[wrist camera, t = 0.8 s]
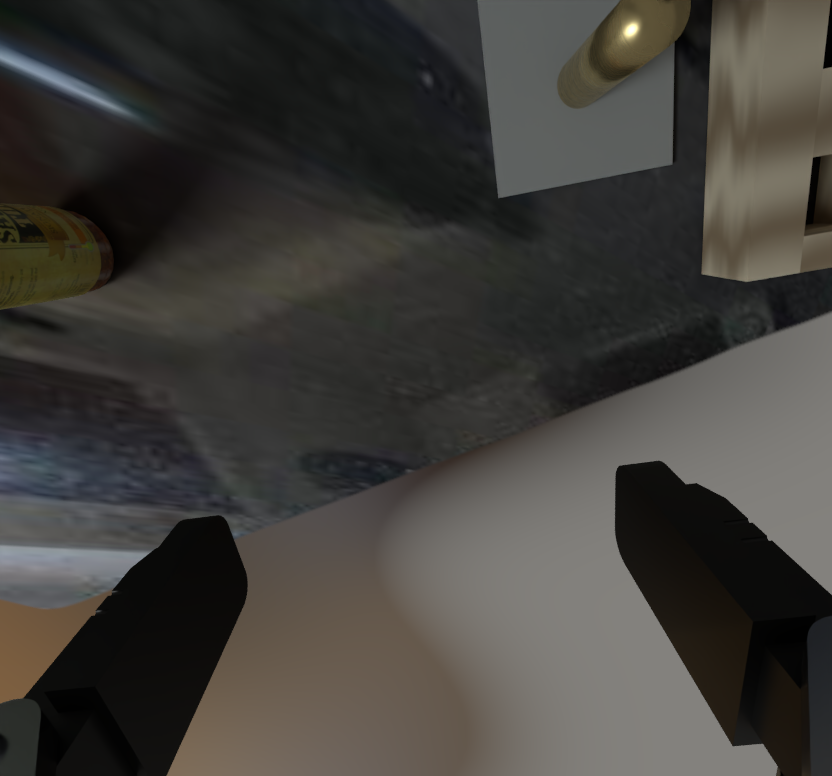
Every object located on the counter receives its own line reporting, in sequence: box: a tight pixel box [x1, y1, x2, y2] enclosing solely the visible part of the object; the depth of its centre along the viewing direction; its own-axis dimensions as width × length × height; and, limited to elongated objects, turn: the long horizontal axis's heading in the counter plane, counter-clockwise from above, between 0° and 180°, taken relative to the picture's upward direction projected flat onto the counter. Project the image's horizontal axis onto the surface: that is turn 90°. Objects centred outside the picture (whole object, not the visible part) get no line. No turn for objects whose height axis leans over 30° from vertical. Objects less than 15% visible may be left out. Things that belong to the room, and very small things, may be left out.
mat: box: [477, 0, 674, 198], centre depth 29 cm, size 12×12×1 cm
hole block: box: [702, 0, 832, 282], centre depth 28 cm, size 18×11×5 cm, turn 10°
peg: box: [557, 0, 691, 109], centre depth 24 cm, size 3×3×10 cm
